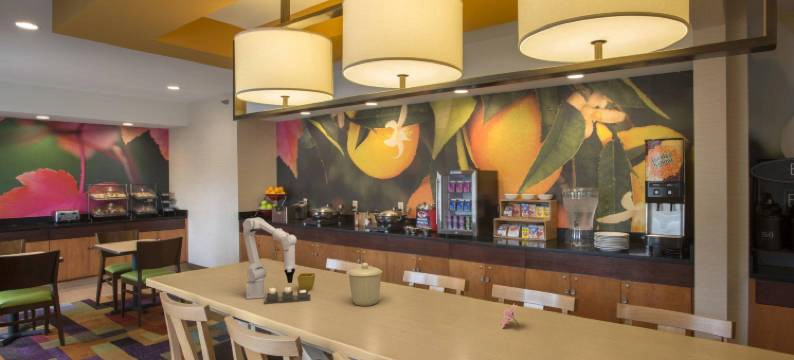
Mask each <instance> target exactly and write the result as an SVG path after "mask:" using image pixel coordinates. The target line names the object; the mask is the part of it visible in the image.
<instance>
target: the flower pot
mask: <svg viewBox="0 0 794 360" xmlns="http://www.w3.org/2000/svg"><path fill="white" fill-rule="evenodd" d="M296 278H297V284H298V288H299V289H300V290H308V292H309V291H312V289H313V287H314V285H315V279H316V273H315V272H308V273H307V272H304V273H303V272H302V273H300V274H299V275H298V276H297V277H296Z"/></svg>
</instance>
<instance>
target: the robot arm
mask: <svg viewBox="0 0 794 360" xmlns="http://www.w3.org/2000/svg"><path fill="white" fill-rule="evenodd" d="M242 227H243V230H242V234H243V241H244V244H245V249H246V254H247V258H248V264H249V266H248V267H247V268H246V270H247V275H246V278H247V279H248V280H249V281H246V284H245V286H246V290H245V291H246V292H245V293H246V295H245V296H246V297H245V299H246V300H249V299H264V298H266V293H265V278H266V277H267V273H268V272H267V270H266V268H265V266H264V264H263V263H261V261H260V256H259V253H258V248H257V242H256V239H255V234H256V233H257V232H258V231H259V230H260V229H261V230H263V231H265V232H267V233H269V234H271V236H272V238H273V239H275V240H277V241H279V243H281V245H282V246H283V248H282V249H283V264H284V266H283V268H284V270H283V272H284V273H285V276H286V280H287V281H286V282H287V284H292V283H293V278H294V274H295V272H296V268H298V264H296V248H295V247H296V244H297V241H298V240H297V239H298V238H297V236H296V235H294V234H289V232H286V231H284V230H283V228H281V227H280V228H276V227H274V226H272V225H271V224H269V223H268V222H266V220H265V219H264V218H262V217H259V216H257V217H252V218H246V219H244V221H243V222H242Z"/></svg>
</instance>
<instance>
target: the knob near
mask: <svg viewBox="0 0 794 360" xmlns="http://www.w3.org/2000/svg"><path fill="white" fill-rule="evenodd" d="M276 289H277V288H276V286H275V287H268V293H269V295H276V292H277V290H276Z"/></svg>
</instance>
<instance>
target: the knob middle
mask: <svg viewBox="0 0 794 360" xmlns="http://www.w3.org/2000/svg"><path fill="white" fill-rule="evenodd" d="M291 291H292V286H291V285H290V286H283V292H284V294H290V293H291Z"/></svg>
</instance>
